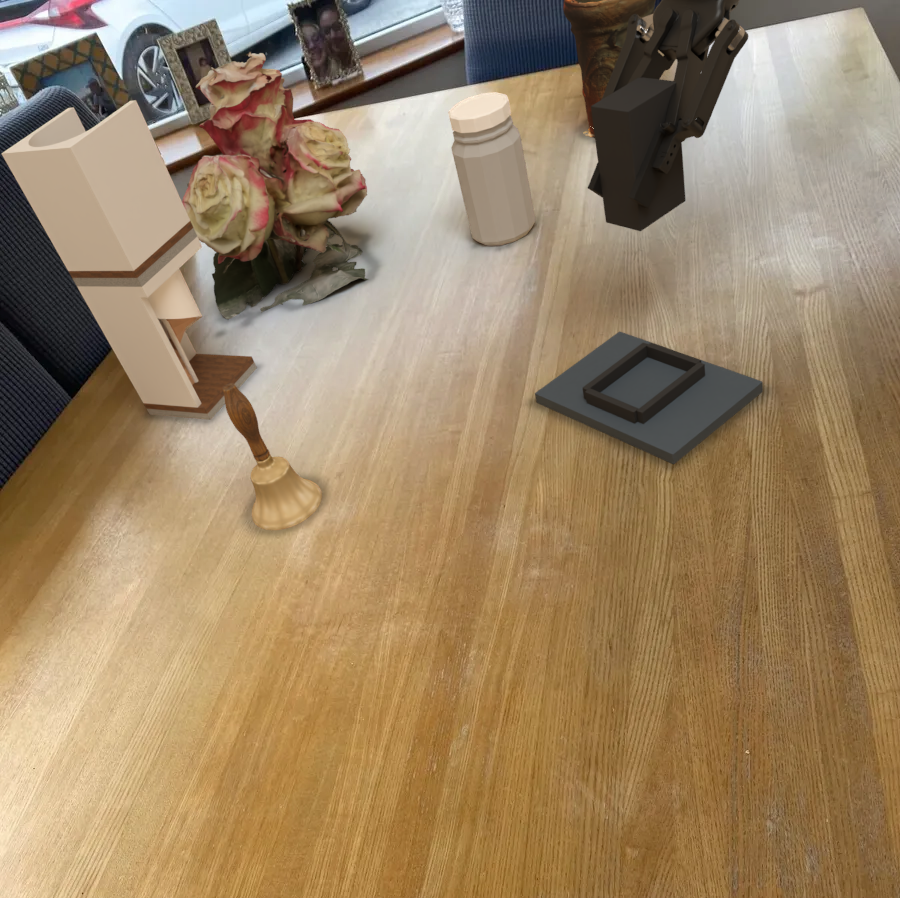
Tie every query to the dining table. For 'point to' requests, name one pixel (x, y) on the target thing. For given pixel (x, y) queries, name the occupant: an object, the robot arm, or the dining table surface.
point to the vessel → (600, 40)
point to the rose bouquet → (270, 191)
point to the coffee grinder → (126, 252)
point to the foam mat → (649, 395)
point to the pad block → (634, 151)
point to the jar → (491, 169)
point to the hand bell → (271, 473)
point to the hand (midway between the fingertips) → (617, 197)
